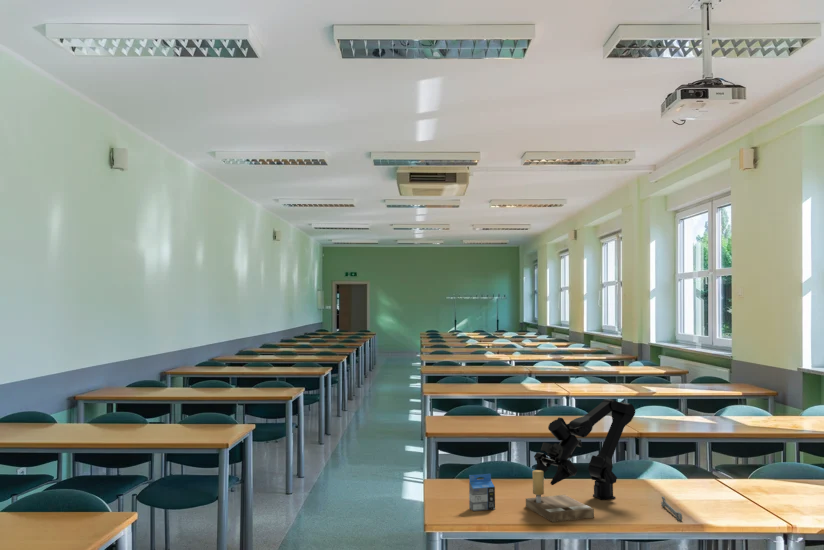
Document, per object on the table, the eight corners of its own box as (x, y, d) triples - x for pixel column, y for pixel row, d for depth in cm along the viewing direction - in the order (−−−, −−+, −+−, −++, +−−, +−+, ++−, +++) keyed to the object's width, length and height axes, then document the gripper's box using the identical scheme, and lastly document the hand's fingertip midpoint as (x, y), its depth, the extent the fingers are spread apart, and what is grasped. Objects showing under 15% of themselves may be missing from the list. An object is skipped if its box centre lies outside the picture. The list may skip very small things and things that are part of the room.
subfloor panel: (565, 502, 258) (564, 494, 258) (594, 517, 238) (593, 508, 239) (525, 506, 253) (525, 498, 253) (552, 522, 234) (551, 513, 234)
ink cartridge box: (472, 511, 247) (472, 477, 248) (469, 508, 251) (468, 474, 252) (495, 509, 250) (494, 475, 250) (491, 506, 253) (490, 473, 254)
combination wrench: (682, 512, 234) (663, 495, 254) (678, 512, 234) (660, 495, 254) (682, 523, 234) (664, 505, 254) (678, 523, 234) (660, 505, 254)
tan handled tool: (541, 508, 251) (540, 469, 251) (546, 511, 247) (545, 472, 248) (531, 509, 250) (530, 470, 250) (536, 512, 246) (535, 473, 246)
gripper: (537, 430, 262) (514, 462, 256) (570, 438, 245) (547, 472, 239) (553, 449, 265) (531, 481, 259) (587, 458, 249) (564, 492, 243)
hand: (543, 481), depth 250 cm, fingers open, 9 cm apart
